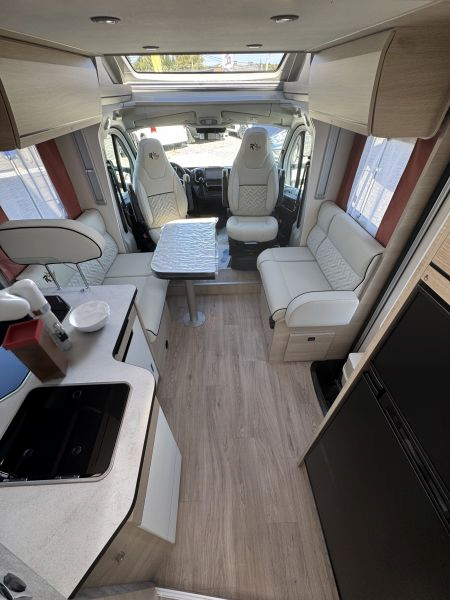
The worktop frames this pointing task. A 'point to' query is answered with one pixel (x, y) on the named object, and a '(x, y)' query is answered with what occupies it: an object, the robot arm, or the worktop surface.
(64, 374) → the pedestal
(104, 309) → the bowl
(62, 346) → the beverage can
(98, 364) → the worktop surface
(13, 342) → the red tray
